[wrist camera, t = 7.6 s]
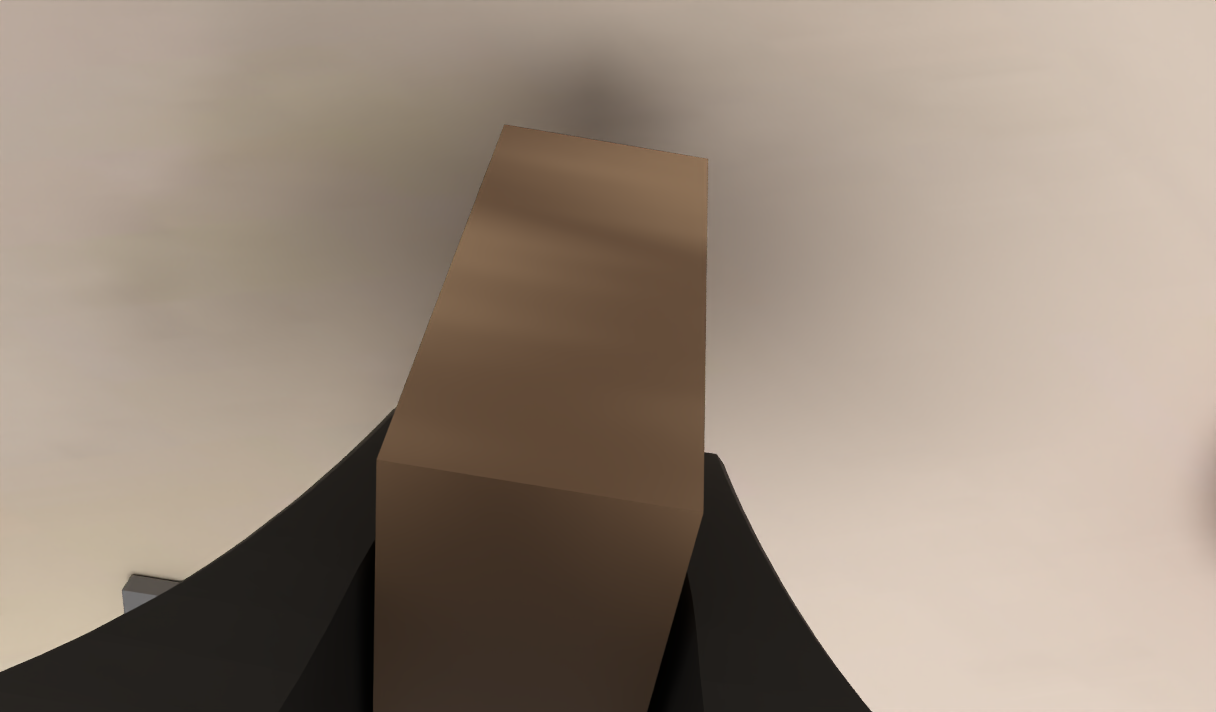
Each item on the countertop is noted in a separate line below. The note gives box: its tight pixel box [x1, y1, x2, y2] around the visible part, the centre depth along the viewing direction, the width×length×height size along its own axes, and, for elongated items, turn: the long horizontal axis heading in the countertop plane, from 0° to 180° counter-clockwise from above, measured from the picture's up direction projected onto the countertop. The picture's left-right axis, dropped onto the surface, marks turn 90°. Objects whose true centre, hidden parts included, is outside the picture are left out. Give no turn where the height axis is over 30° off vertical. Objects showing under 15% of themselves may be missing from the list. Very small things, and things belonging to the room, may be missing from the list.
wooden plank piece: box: [373, 125, 708, 712], centre depth 13 cm, size 2×10×6 cm, turn 171°
